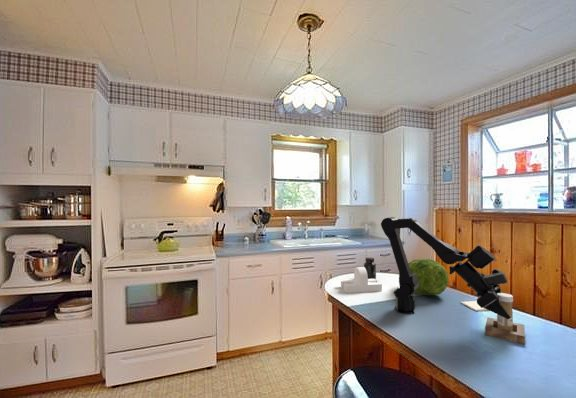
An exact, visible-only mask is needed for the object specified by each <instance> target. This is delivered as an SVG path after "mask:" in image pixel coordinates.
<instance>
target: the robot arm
mask: <svg viewBox="0 0 576 398" xmlns="http://www.w3.org/2000/svg"><path fill="white" fill-rule="evenodd" d="M380 226H381V229H382V231H383V233H384V235H385V236H386V237H387V238H388V241H389V243H390V247H391V250H392V254H393V257H394V260H395V262H396V266H397V270H398V284H399V285H398V288H397V289H396V290H394V292H393V293H394V297H395V305H394V308H395V309H396V311H397V313H399V314H400V313H401V314H402V313H403V314H416V313H415V309H416V306H415V304H416V303H415V302H416V301H415V299H414V296H413V294H414V293H415V291H416V290H417V289H418V287H419V283H420V282H419V280H418V278H417V273H415V274H413V273H412V272H411V270H410V268H409V264H408V263H409V262H408V259H407V255H406V251H405V249H404V246H403V242H402V240H401V229H409V230H410V231H412V232H413V233H414V234H415V235H416V236H417V237H418V238H420V239H421V240H422V241H423V242H425V243H426V244H427V245H428V246H429V247H430V248H432V249H433V251H434V253H435V254H436V255H437V257H438V258H439V259H440V260H441V261H442V263H444V264H445V265H449V268H448V269H449V275H452V274H454V273H456V274H457V275H459V277H461V279H463V281H464V282H465V283H466V286H467V287H468V288H471V289H472V290H473V291H474V292H475V293H476V294H475V295H476V296H477V299H476V301H477V304H478V305H479V306H480V307H481V308H484V309H487V310H488V311H490V312H492V313H493V314H496V315H497V314H498V315H500V316H502V317H504V318H506V319H510V318H511V317H510V315H509V314H508V313H507V311H506V310H505V309H504V308H503V306H502V305H501V304H500V302H499V296H498V295H497V293H502V291H501V290H502V286H501V285H504V284H507V283H508V278H507V276H506V274H505V273H504V271H503V270H501V271H500V270H499V269H498V268H494V269H492V270H491V273H489V274H487V275H485V274H484V273H483V272H479V271H478V270H477V269H481V270H482V269H484V268H486V267H487V266H488V265H490V264H491V263H493V262H494V261H496V257H495V256H494V254H492V253H491V251H489V250H487V249H486V248H484V247H483V246H481V244H478V245H476V246H475V247H474V249H472V250H471V251H470V252H466V251H461V250H458V248H456V247H454V246H453V245H451V244H449V243H447V242H444V241H443V240H441V239H439V238H438V237H437V236H436V235H435V234H434V233H432V232H431V231H430V230H428V229H427V228H426V227H425V226H423V225H422V224H421V223H420V222H418V221H417V219H416V218H414V217H408V218H397V217H394V216H391V217H386V218H383V219H382V220H381V222H380ZM454 264H455V265H454Z"/></svg>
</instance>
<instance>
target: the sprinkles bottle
mask: <svg viewBox="0 0 576 398" xmlns="http://www.w3.org/2000/svg"><path fill="white" fill-rule="evenodd" d="M497 295H498V296H499V302H500V304H501V305H502V306H503V308H504V309H505V310H506V311H507V313H508V314H509V315H510V317H511V318H510V319H506V318H504V317H502V316H500V315H498V314H496V319H497V323H498V324H497V325H498V328H499V329H504V330H508V331H513V323H514V321H513V320H514V319H513V318H514V317H513V316H514V315H513V313H514V312H513V302H514V296H513V295H512V294H511V293H505V292H501V293H497Z"/></svg>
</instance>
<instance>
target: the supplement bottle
mask: <svg viewBox="0 0 576 398" xmlns="http://www.w3.org/2000/svg"><path fill="white" fill-rule="evenodd" d="M363 267H365V269H366V271H367V275H368V279H376V280H377V264H376V262H375V258H374V257H365V262H364V263H363Z"/></svg>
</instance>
